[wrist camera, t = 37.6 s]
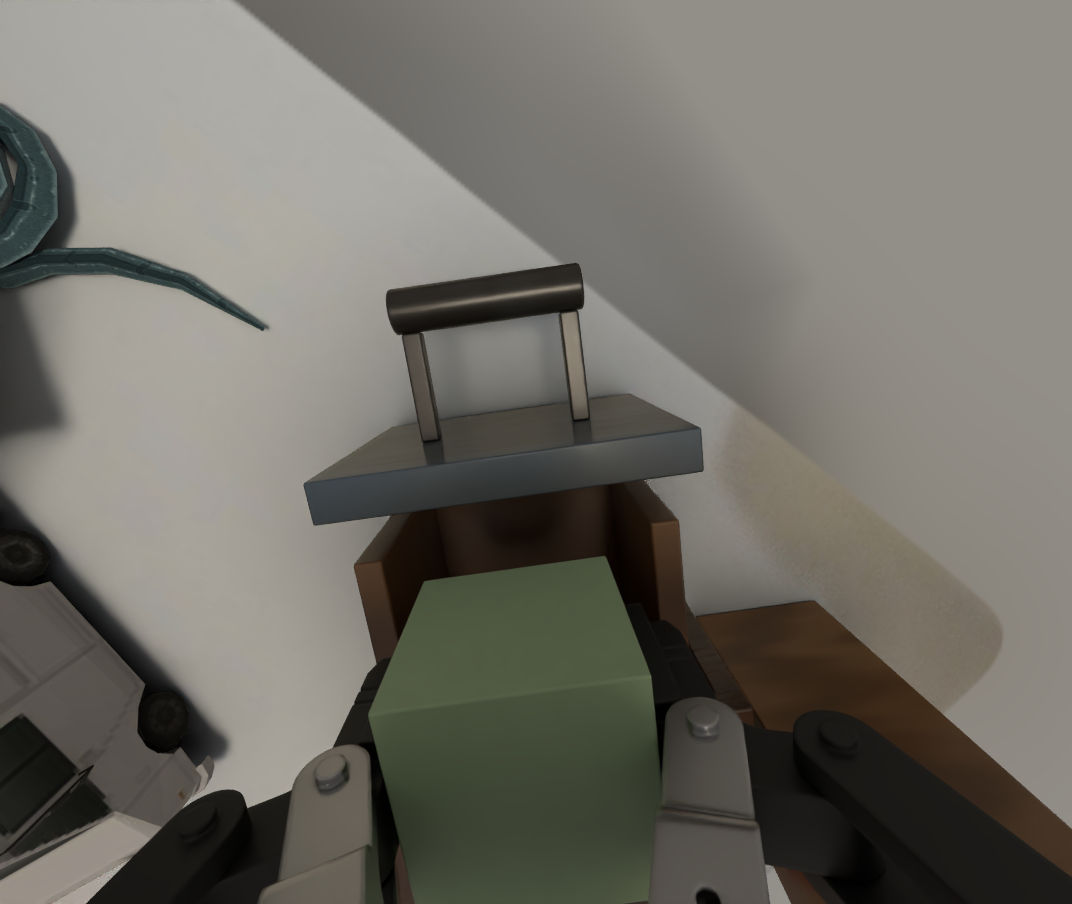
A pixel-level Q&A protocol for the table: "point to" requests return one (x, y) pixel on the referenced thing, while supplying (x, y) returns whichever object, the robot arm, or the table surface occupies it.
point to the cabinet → (717, 680)
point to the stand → (867, 715)
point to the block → (521, 740)
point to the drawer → (510, 470)
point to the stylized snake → (30, 210)
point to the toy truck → (75, 742)
